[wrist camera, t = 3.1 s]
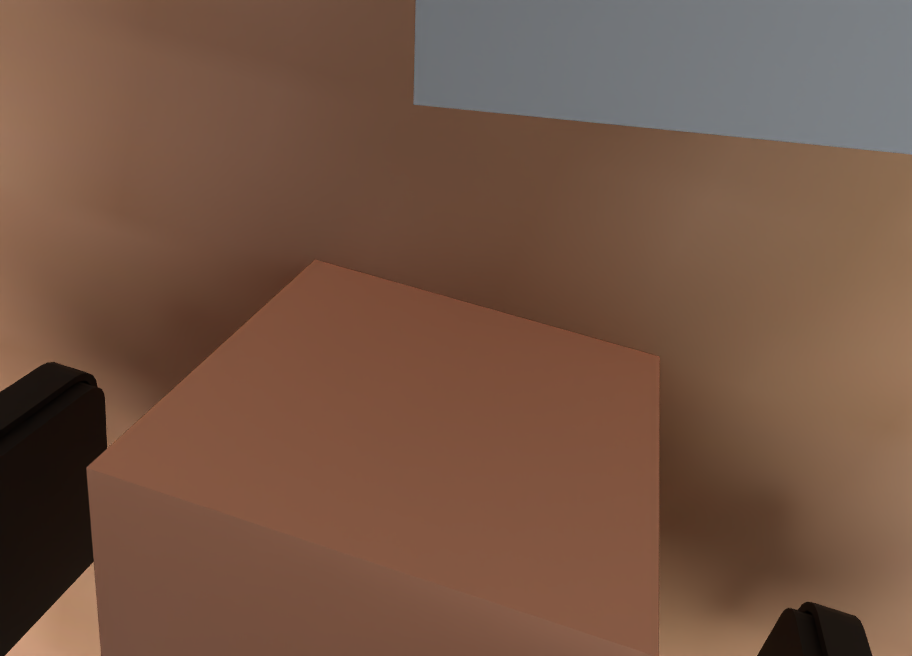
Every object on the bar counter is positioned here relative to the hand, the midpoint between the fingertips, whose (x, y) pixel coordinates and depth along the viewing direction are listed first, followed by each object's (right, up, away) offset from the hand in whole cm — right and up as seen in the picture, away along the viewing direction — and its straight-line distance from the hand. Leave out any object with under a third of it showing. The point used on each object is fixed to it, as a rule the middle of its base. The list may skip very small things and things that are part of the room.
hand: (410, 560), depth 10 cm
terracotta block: (0, +1, +2) cm, 2 cm away
